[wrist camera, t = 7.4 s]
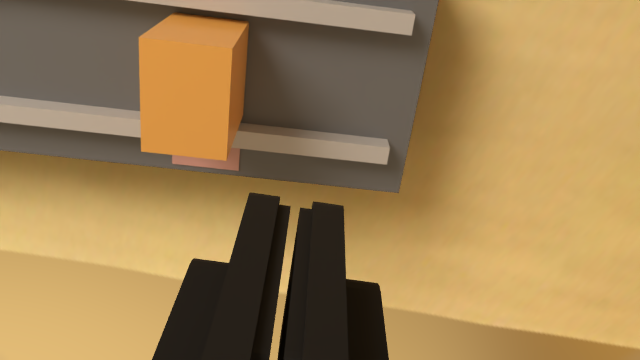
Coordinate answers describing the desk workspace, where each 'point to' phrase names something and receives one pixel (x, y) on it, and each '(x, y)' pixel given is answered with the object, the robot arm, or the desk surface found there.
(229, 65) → the block
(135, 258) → the desk surface
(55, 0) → the grey railed slider base
